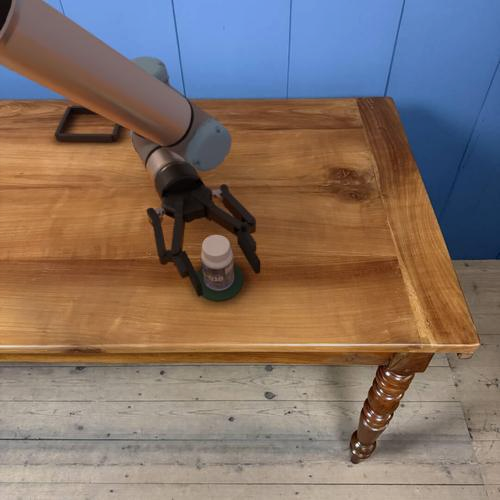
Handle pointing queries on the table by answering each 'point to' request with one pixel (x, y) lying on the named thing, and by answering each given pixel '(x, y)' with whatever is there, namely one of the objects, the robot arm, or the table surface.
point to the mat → (226, 293)
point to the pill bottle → (217, 262)
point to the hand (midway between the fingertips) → (229, 278)
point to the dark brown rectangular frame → (83, 137)
